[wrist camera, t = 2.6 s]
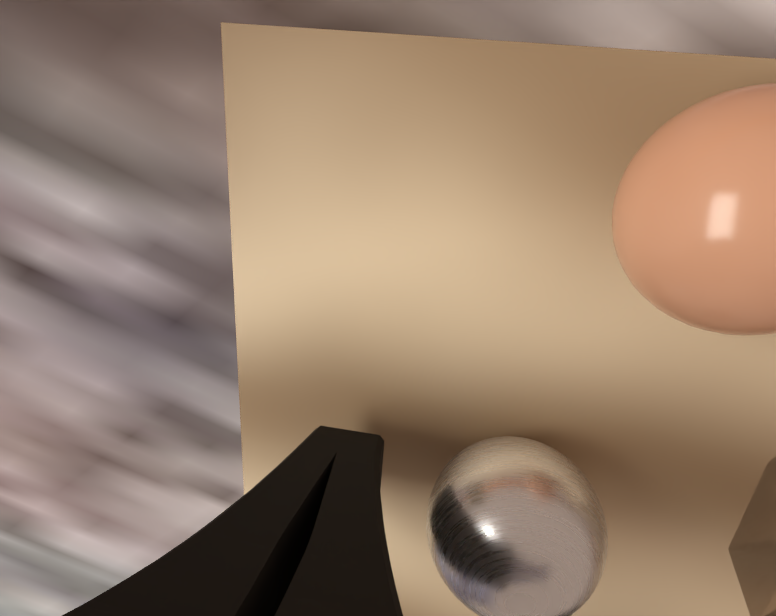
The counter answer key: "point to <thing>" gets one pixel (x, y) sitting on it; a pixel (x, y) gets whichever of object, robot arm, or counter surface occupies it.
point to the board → (490, 296)
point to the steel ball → (516, 529)
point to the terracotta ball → (705, 214)
